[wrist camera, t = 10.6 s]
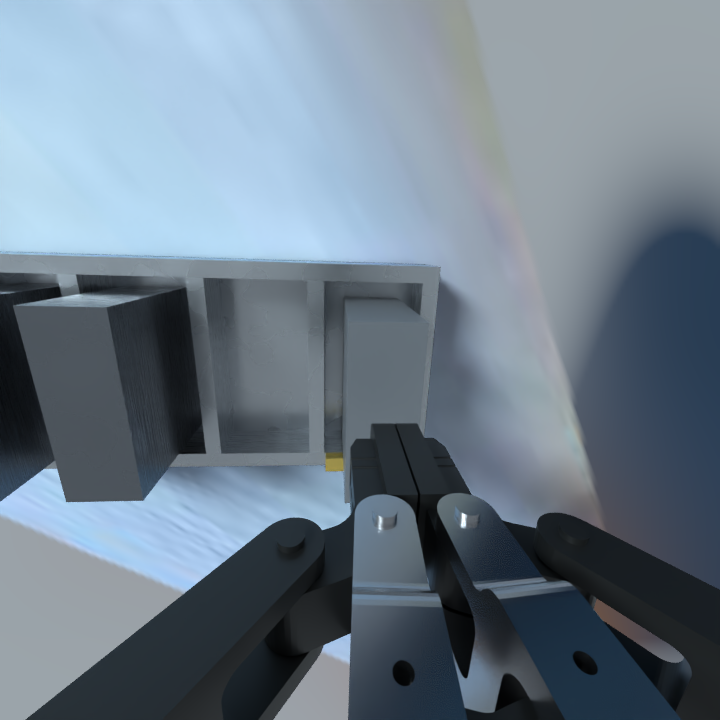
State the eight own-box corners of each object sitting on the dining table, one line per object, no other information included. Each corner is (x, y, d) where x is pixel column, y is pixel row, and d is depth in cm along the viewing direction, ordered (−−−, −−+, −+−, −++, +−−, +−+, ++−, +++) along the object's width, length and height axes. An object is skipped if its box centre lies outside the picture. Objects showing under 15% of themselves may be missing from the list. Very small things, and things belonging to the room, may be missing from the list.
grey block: (344, 296, 19) (348, 321, 13) (397, 297, 19) (429, 322, 13) (341, 425, 22) (344, 503, 15) (389, 424, 22) (412, 501, 15)
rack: (37, 438, 21) (-117, 536, 14) (-16, 251, 18) (-255, 251, 11) (410, 436, 23) (444, 521, 16) (424, 264, 20) (477, 272, 12)
